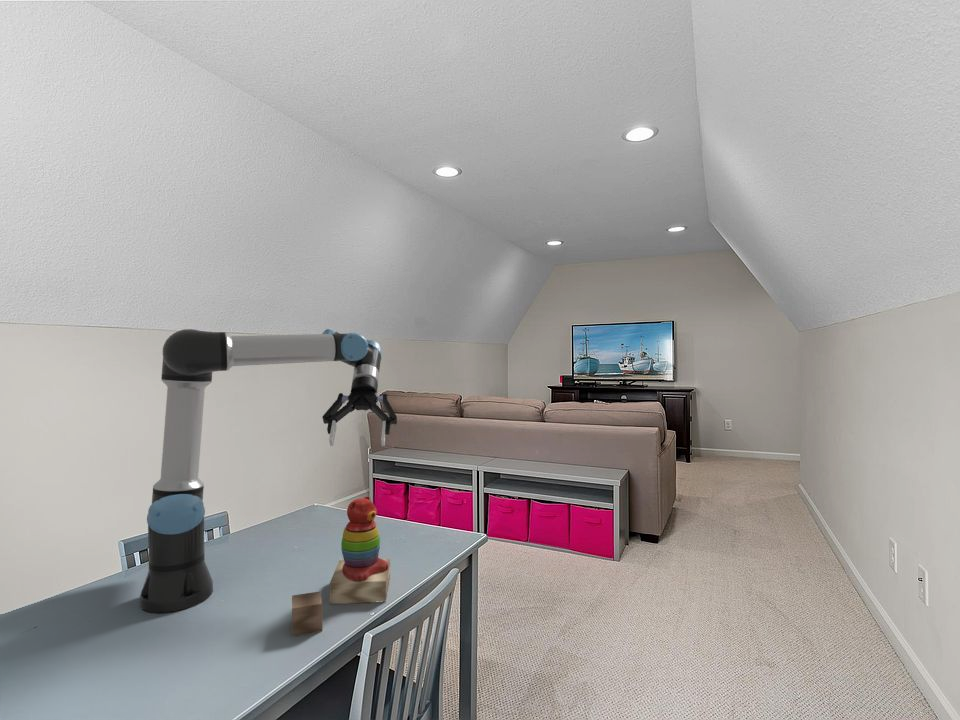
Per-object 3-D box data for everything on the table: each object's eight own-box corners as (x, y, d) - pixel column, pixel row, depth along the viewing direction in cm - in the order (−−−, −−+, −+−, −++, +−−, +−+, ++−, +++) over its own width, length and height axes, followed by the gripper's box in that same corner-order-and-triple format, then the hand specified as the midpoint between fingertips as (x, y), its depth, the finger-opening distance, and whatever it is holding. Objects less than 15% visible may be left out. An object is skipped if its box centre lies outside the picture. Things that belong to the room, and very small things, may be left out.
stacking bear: (358, 583, 123) (357, 508, 122) (331, 572, 129) (330, 500, 128) (392, 568, 131) (392, 497, 131) (365, 558, 138) (365, 490, 137)
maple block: (329, 604, 123) (329, 583, 123) (339, 579, 136) (339, 560, 136) (385, 601, 124) (385, 581, 124) (390, 577, 137) (390, 558, 137)
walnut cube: (292, 636, 110) (292, 608, 109) (292, 622, 115) (292, 595, 115) (322, 631, 112) (322, 603, 112) (320, 617, 117) (320, 591, 117)
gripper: (407, 392, 159) (404, 451, 144) (323, 391, 157) (311, 451, 142) (407, 375, 154) (403, 435, 139) (320, 374, 152) (307, 434, 137)
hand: (357, 443), depth 141 cm, fingers open, 13 cm apart
